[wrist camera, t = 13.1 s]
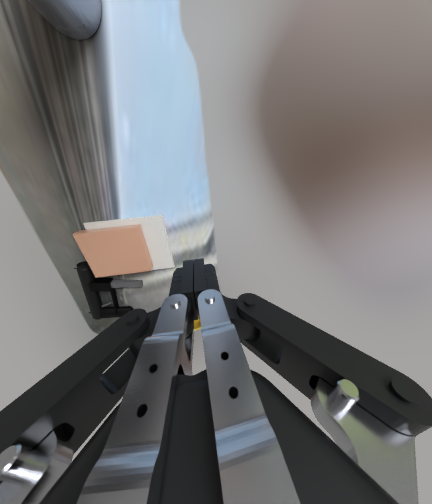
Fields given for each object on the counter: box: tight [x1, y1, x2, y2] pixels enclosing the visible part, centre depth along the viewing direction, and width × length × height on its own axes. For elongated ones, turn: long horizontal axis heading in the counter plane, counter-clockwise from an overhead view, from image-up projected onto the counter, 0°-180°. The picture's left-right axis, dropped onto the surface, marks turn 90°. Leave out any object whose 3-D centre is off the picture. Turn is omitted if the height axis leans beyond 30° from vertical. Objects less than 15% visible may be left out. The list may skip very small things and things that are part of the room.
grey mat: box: [83, 215, 175, 270], centre depth 40 cm, size 15×18×1 cm
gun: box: [74, 262, 143, 320], centre depth 46 cm, size 3×20×16 cm
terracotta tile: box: [72, 224, 153, 278], centre depth 39 cm, size 12×2×14 cm
